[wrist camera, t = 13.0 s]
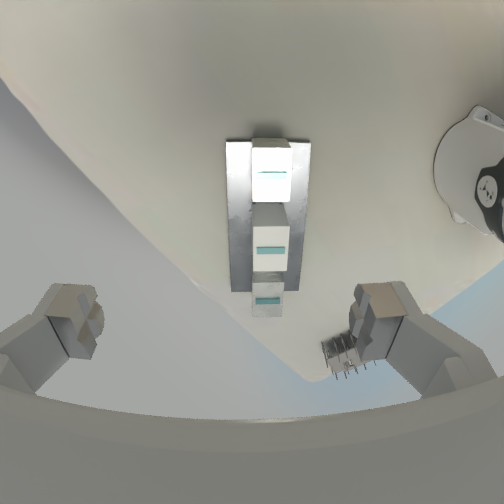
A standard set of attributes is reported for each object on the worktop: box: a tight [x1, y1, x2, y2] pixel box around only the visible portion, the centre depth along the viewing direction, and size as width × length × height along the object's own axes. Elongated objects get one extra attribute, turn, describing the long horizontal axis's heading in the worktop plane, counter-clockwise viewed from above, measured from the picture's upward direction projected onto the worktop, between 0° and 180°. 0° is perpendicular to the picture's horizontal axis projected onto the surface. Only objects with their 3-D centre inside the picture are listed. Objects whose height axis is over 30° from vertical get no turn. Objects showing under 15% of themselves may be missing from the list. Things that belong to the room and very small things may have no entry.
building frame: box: [322, 331, 375, 378], centre depth 54 cm, size 6×8×6 cm
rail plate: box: [226, 138, 311, 317], centre depth 40 cm, size 10×23×6 cm, turn 0°
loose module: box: [252, 204, 290, 271], centre depth 39 cm, size 4×6×6 cm, turn 0°
